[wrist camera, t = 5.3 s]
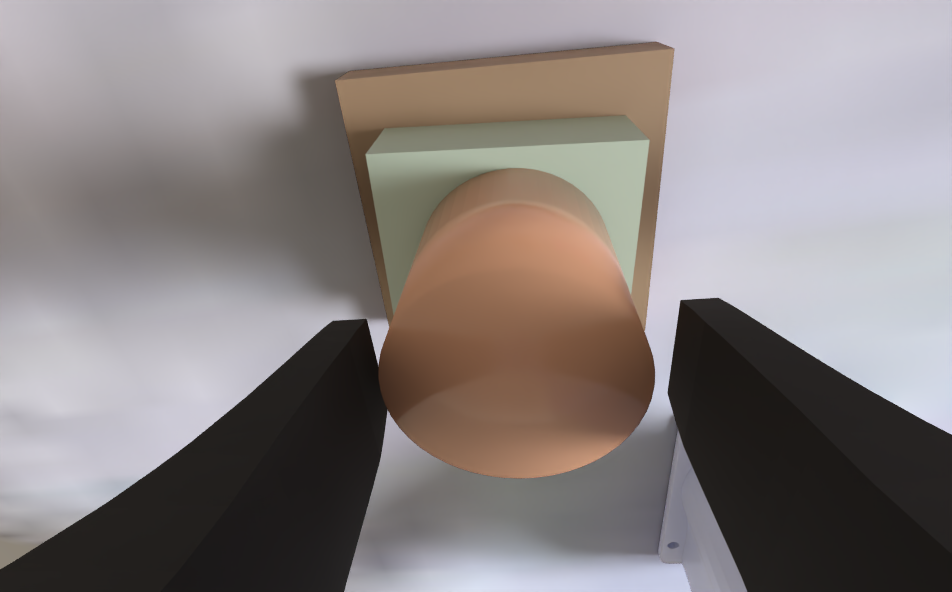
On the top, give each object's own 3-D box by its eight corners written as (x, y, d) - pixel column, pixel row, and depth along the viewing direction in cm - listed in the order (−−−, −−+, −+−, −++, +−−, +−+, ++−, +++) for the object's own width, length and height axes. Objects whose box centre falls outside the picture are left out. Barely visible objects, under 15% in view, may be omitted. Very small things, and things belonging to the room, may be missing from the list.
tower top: (607, 317, 16) (622, 364, 14) (413, 323, 16) (403, 370, 14) (625, 115, 12) (649, 139, 11) (384, 128, 13) (365, 154, 11)
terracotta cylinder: (605, 332, 13) (643, 477, 9) (434, 339, 14) (403, 478, 10) (615, 160, 11) (670, 260, 7) (406, 175, 11) (351, 276, 7)
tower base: (628, 292, 18) (644, 330, 16) (403, 306, 18) (393, 344, 16) (649, 38, 14) (674, 48, 12) (356, 66, 14) (335, 80, 12)
